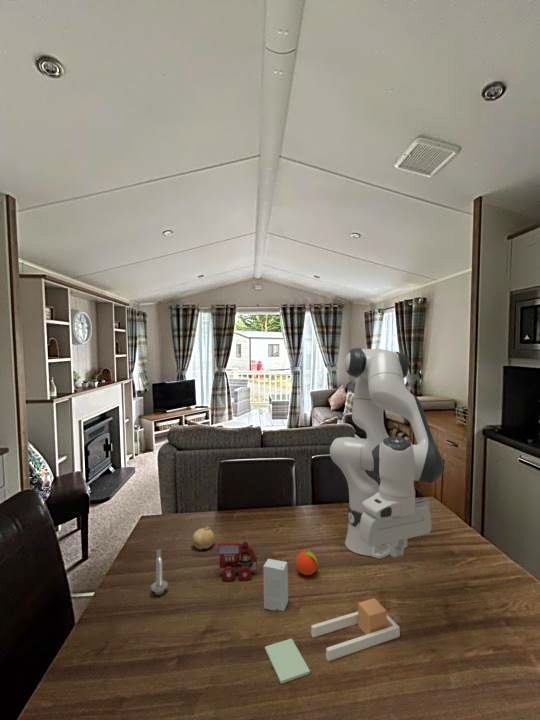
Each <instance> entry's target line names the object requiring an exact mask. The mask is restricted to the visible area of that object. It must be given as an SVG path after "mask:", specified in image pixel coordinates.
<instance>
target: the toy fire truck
mask: <svg viewBox="0 0 540 720" xmlns="http://www.w3.org/2000/svg"><path fill="white" fill-rule="evenodd" d="M217 552H218V554H219V572H221V578H222V579H223V581H226V582H231V581H233V580H234V579H235V577H236V572H238V577H239V579H240V580H241V581H243V582H245V581H246V582H247V581H249V580H250V579H251V577H252V572H255V571H257V569H258V557H257V555H256V553H255V551H254V549H253V548H252V546H249V543H248V541H245V540H244V541H243V542H242V543H241V542H239V541H238V542H236V541H235V542H233V541H231V542H228V541H227V542H219V543H218V545H217Z"/></svg>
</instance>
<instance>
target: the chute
mask: <svg viewBox="0 0 540 720" xmlns="http://www.w3.org/2000/svg"><path fill="white" fill-rule="evenodd" d="M354 625H358V611H355V612H352V613H348V614H344V615H341V616H338V617H335V618H331V619H329V620H325V621H322V622H318V623H315V624H312V625H311V626H310V627H311V629H310V631H311V632H310V633H311V634H310V635H311V636H312V638H317V637H320V636H323V635H325V634H329V633H332V632H335V631H338V630H341V629H344V628H347V627H351V626H354ZM400 629H401V628H400V626H399V625H398V624H397V623H396V622H395V621H394V620H393V619H392V618H391V617H390V616H389V615H388V614H387V628H385V629H382V630H379V631H376V632H373V633H370V634H367V635H365V634H364V635H360V636H359V637H355V638H352V639H350V640H349V639H348V640H345V641H343V642H340V643H337V644H334V645H331V646H328V647H326V648H325V658H326V660H327V662H331V661H333V660H336V659H339V658H342V657H344V656H345V657H346V656H347V655H351V654H354V653H356V652H359V651H362V650H365V649H368V648H371V647H375V646H376V645H380V644H383V643H385V642H388V641H391V640H394V639H397V638H400V635H401V633H400V632H401V630H400Z"/></svg>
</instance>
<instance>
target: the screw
mask: <svg viewBox="0 0 540 720" xmlns="http://www.w3.org/2000/svg"><path fill="white" fill-rule="evenodd" d="M155 559H156V560H155V571H156V572H155V581H154V582H153V583H152V584H151V585H150V590H151V591H152V592H154V594H155V595H157V596H160V595H162V594H164V593H165V590H166V589H167V588H168V586H169V583H168V581H166V580H164V579H163V557H162V549H156V558H155Z"/></svg>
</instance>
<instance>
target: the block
mask: <svg viewBox="0 0 540 720" xmlns="http://www.w3.org/2000/svg"><path fill="white" fill-rule="evenodd" d="M357 612H358V624H357V627H359V629H360V630H361V631H362V633H363V634H364V635H367V634H370V633H373V632H376V631H379V630H382V629H385V628H387V615H388V611H387V609H386V608H385V607H384V606H383V605H382V604H381V603H380V602H379V601H378V600H377V599H376V598H374V597H373V598H370V599H367V600H364V601H360V602H358V603H357Z"/></svg>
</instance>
